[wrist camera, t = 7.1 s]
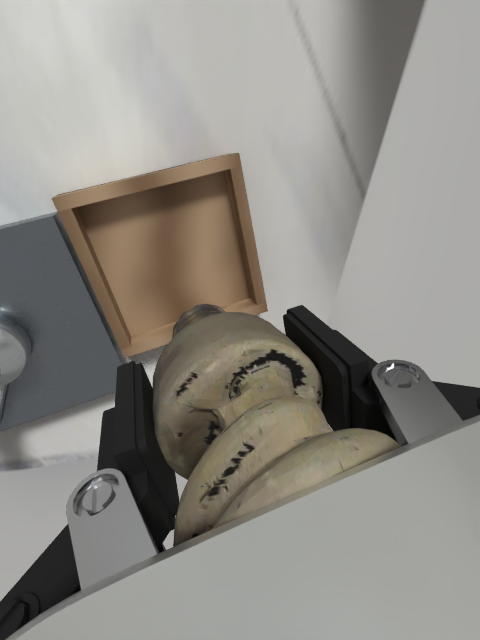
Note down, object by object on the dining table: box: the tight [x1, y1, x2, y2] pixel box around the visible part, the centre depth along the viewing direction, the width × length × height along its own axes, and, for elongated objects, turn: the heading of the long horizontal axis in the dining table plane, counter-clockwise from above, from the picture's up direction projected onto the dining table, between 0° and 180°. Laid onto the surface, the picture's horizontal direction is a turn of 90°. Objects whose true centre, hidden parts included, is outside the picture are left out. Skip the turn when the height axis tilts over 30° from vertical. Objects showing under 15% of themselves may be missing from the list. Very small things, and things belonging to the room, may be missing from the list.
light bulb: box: [153, 304, 401, 547], centre depth 9 cm, size 6×6×15 cm
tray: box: [52, 153, 268, 358], centre depth 25 cm, size 12×12×2 cm
